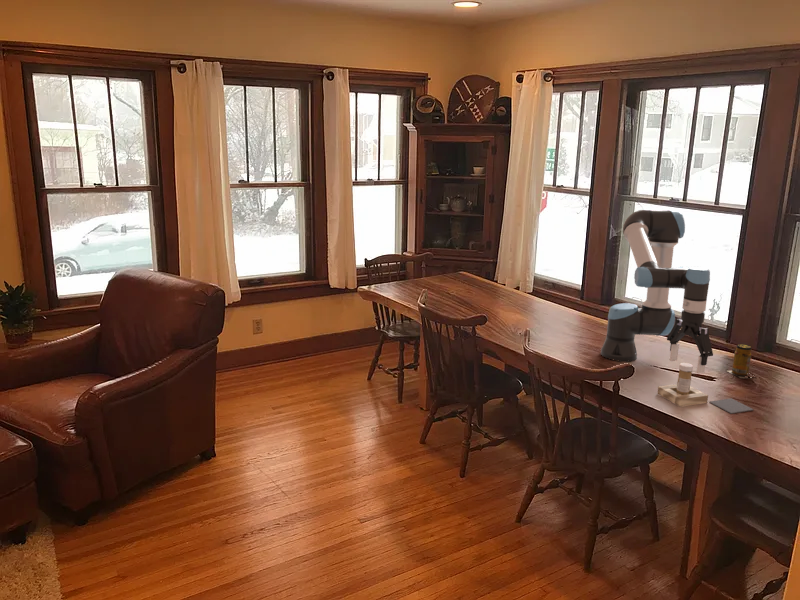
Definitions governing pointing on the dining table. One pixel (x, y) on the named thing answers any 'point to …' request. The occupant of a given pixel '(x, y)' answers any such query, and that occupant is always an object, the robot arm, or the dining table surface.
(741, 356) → the condiment
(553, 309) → the dining table surface
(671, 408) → the dining table surface
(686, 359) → the dining table surface
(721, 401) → the coaster
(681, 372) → the sprinkles bottle
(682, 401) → the frame
